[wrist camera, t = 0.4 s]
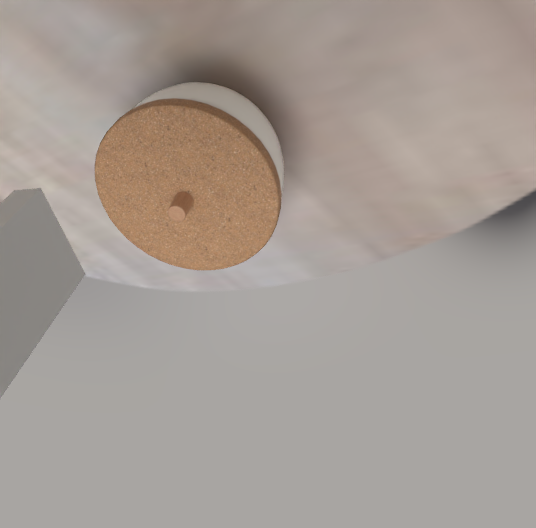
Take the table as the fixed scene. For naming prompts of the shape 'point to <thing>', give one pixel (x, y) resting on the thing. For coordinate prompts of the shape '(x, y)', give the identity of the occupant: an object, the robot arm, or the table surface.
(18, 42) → the table surface
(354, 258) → the table surface
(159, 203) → the lidded bowl
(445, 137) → the table surface
